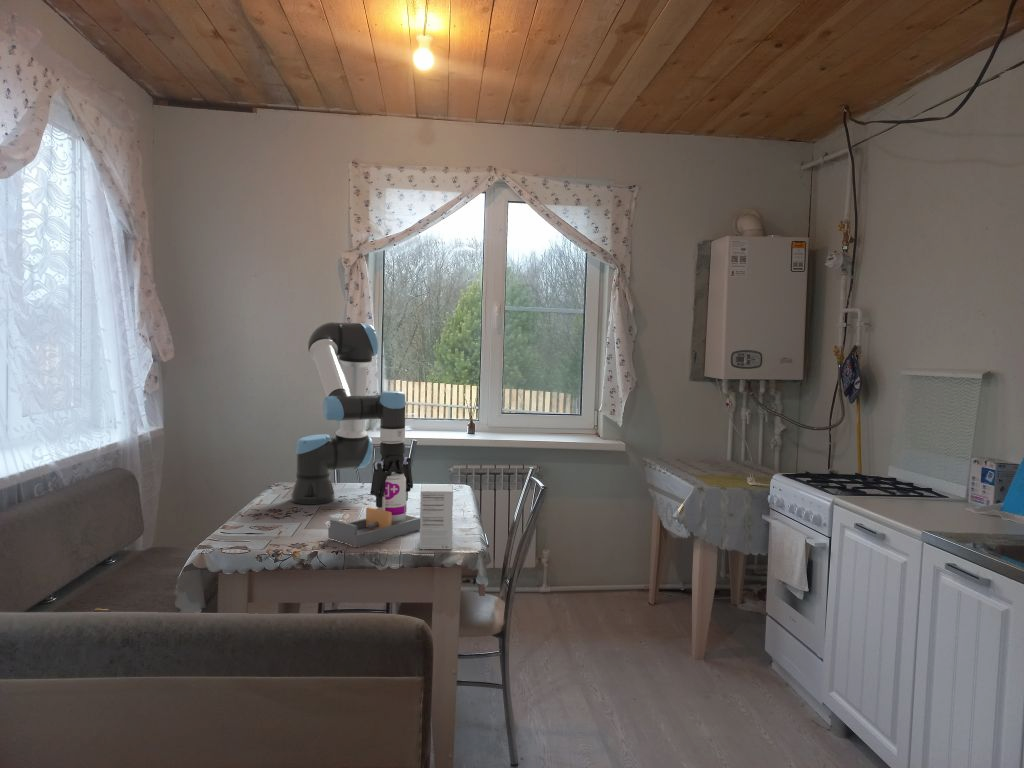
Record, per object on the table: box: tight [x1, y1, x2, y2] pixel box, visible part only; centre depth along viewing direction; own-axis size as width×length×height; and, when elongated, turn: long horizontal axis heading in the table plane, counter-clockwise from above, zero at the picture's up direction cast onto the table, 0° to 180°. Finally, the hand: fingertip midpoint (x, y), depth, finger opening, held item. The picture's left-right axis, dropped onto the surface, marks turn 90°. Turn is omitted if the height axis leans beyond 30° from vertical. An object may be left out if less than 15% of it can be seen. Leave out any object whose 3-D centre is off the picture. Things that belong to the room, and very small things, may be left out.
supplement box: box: [419, 483, 454, 550], centre depth 196 cm, size 10×9×17 cm
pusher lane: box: [327, 513, 420, 548], centre depth 206 cm, size 12×26×6 cm, turn 143°
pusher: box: [365, 506, 392, 529], centre depth 205 cm, size 10×4×6 cm, turn 53°
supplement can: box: [379, 472, 407, 525], centre depth 210 cm, size 8×8×15 cm
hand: (392, 514), depth 210 cm, fingers closed on supplement can, 8 cm apart
